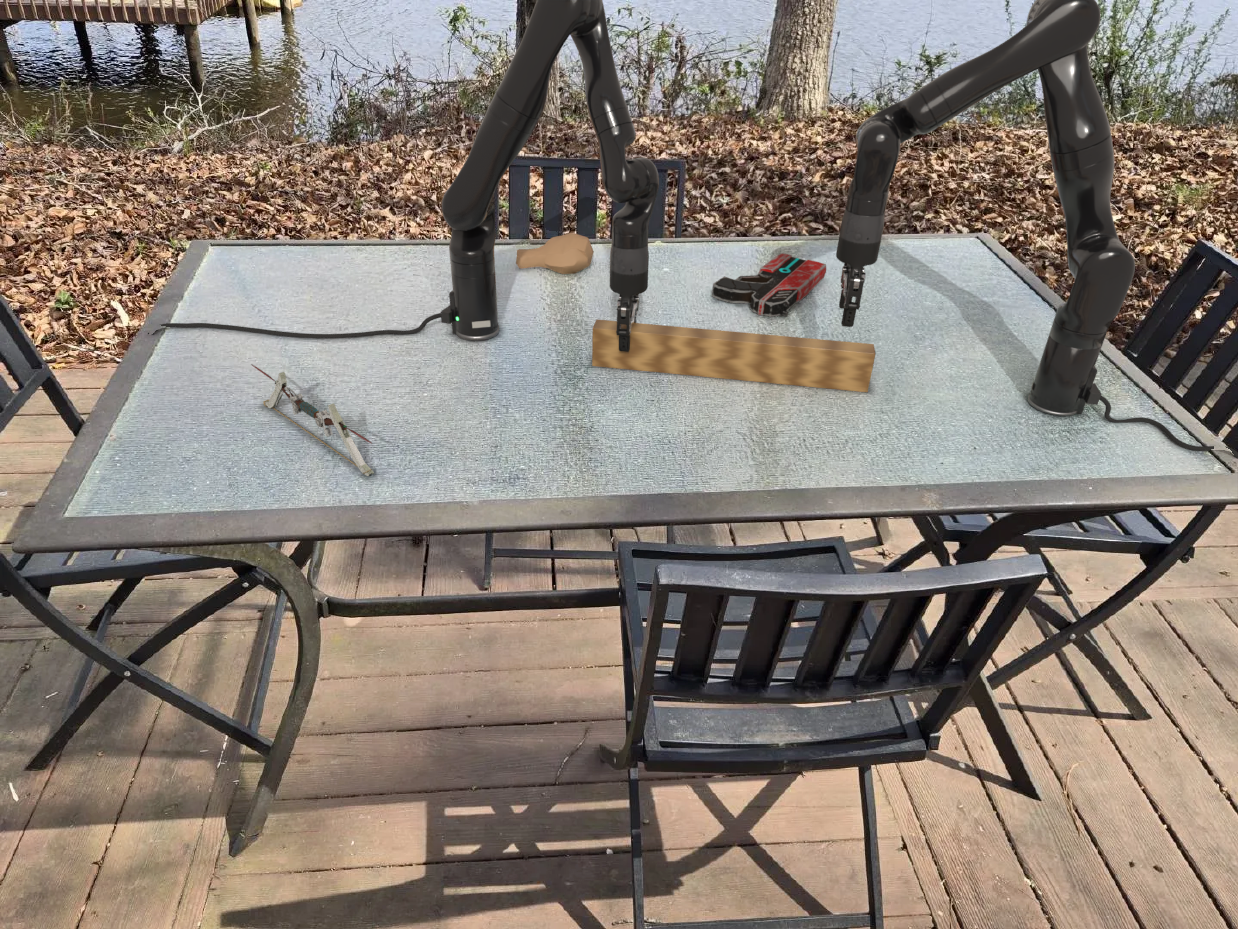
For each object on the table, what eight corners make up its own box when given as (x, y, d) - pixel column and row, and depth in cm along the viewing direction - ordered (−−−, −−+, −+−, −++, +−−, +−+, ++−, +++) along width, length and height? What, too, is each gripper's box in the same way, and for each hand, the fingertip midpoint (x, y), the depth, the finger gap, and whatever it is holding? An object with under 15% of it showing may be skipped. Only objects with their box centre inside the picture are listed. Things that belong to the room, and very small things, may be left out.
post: (592, 366, 181) (592, 328, 176) (595, 356, 184) (596, 319, 180) (867, 392, 174) (875, 353, 170) (865, 382, 178) (873, 343, 173)
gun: (708, 284, 207) (784, 305, 199) (760, 245, 229) (831, 262, 221) (706, 302, 209) (781, 323, 201) (758, 261, 231) (828, 278, 223)
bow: (384, 479, 145) (376, 427, 139) (374, 483, 144) (366, 432, 138) (264, 397, 166) (253, 350, 161) (255, 401, 165) (244, 353, 160)
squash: (595, 277, 221) (590, 246, 215) (517, 285, 222) (510, 253, 216) (596, 255, 229) (591, 224, 223) (520, 262, 230) (514, 231, 224)
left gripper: (643, 280, 164) (640, 358, 173) (652, 254, 176) (649, 328, 185) (604, 278, 165) (603, 355, 174) (615, 251, 176) (614, 325, 185)
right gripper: (885, 249, 153) (868, 334, 162) (878, 223, 165) (862, 303, 174) (841, 246, 154) (827, 330, 163) (837, 220, 166) (824, 300, 175)
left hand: (627, 341), depth 179 cm, fingers open, 8 cm apart
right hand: (845, 316), depth 169 cm, fingers open, 8 cm apart
